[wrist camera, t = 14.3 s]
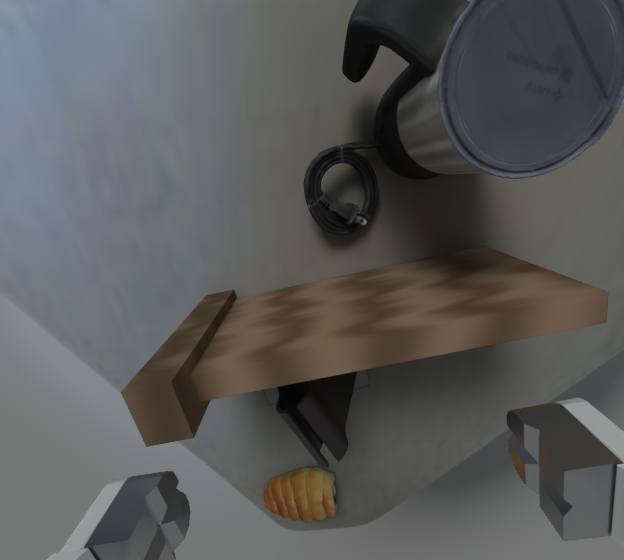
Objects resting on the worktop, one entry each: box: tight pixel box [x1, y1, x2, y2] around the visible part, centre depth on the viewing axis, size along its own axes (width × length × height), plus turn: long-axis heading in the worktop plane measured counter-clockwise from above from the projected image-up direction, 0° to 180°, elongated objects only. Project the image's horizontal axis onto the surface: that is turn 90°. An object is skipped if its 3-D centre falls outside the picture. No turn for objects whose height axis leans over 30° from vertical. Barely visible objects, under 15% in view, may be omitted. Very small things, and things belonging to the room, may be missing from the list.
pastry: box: [264, 467, 337, 523], centre depth 40 cm, size 9×7×4 cm
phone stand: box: [276, 371, 357, 467], centre depth 29 cm, size 9×6×12 cm, turn 121°
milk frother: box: [304, 0, 624, 235], centre depth 23 cm, size 14×16×15 cm
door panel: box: [121, 246, 609, 447], centre depth 26 cm, size 29×5×16 cm, turn 102°
